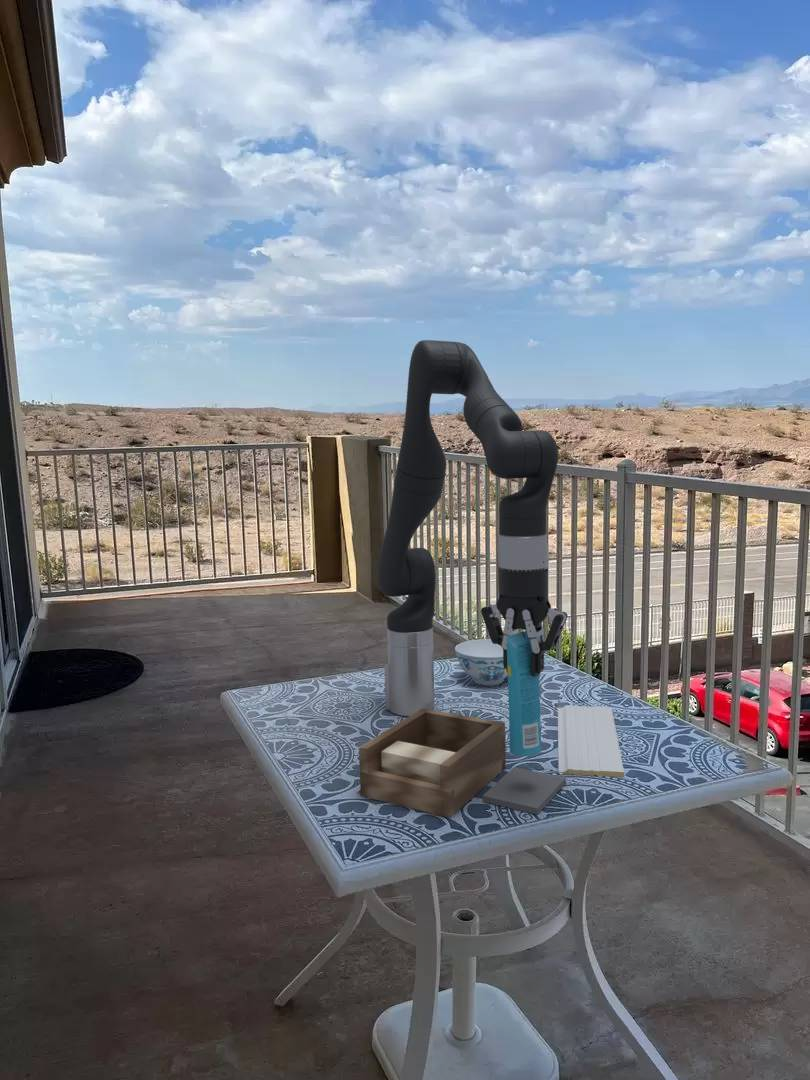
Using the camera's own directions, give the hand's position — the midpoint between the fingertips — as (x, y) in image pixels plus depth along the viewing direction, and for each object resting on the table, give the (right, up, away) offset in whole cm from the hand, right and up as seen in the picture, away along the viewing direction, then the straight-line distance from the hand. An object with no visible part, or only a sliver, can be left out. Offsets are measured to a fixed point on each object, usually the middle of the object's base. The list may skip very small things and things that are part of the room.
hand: (523, 672), depth 127 cm
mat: (+1, -19, +3) cm, 19 cm away
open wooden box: (-13, -19, +8) cm, 24 cm away
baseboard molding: (+14, -17, +24) cm, 32 cm away
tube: (0, -13, +2) cm, 13 cm away
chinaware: (+1, -12, +59) cm, 60 cm away
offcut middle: (-16, -18, +3) cm, 24 cm away
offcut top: (-16, -15, +3) cm, 22 cm away
